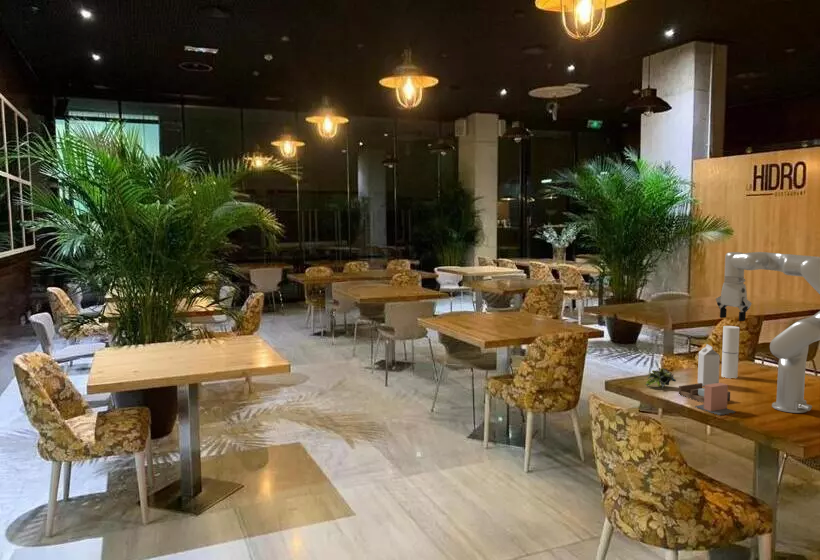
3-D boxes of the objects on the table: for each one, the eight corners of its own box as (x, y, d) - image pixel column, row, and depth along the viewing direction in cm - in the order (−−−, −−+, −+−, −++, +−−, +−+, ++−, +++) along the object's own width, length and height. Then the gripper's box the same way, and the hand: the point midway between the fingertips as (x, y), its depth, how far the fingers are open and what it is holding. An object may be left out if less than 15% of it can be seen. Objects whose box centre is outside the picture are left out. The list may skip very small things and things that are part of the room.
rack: (729, 400, 268) (730, 391, 267) (707, 404, 263) (707, 395, 262) (700, 391, 282) (700, 383, 282) (678, 394, 277) (679, 386, 277)
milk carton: (712, 383, 297) (714, 343, 295) (718, 387, 290) (720, 347, 288) (697, 382, 297) (698, 343, 295) (702, 386, 290) (704, 346, 288)
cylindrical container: (718, 375, 310) (720, 326, 307) (727, 374, 313) (729, 325, 310) (730, 379, 303) (732, 328, 301) (740, 377, 306) (742, 327, 304)
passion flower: (662, 397, 293) (678, 377, 291) (664, 399, 282) (680, 378, 281) (641, 382, 296) (657, 362, 295) (642, 383, 286) (659, 363, 285)
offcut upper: (723, 396, 267) (723, 390, 267) (708, 398, 264) (709, 392, 264) (712, 392, 273) (712, 387, 273) (697, 394, 270) (698, 388, 270)
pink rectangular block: (726, 408, 255) (727, 384, 254) (710, 411, 251) (711, 387, 251) (719, 406, 258) (720, 382, 257) (703, 408, 255) (704, 385, 254)
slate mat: (735, 412, 251) (735, 411, 251) (719, 415, 248) (719, 414, 248) (711, 404, 262) (711, 403, 262) (695, 407, 259) (695, 405, 259)
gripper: (757, 281, 264) (756, 321, 266) (723, 278, 280) (722, 315, 282) (745, 282, 261) (743, 322, 263) (711, 279, 277) (709, 317, 279)
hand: (732, 319), depth 272 cm, fingers open, 9 cm apart
